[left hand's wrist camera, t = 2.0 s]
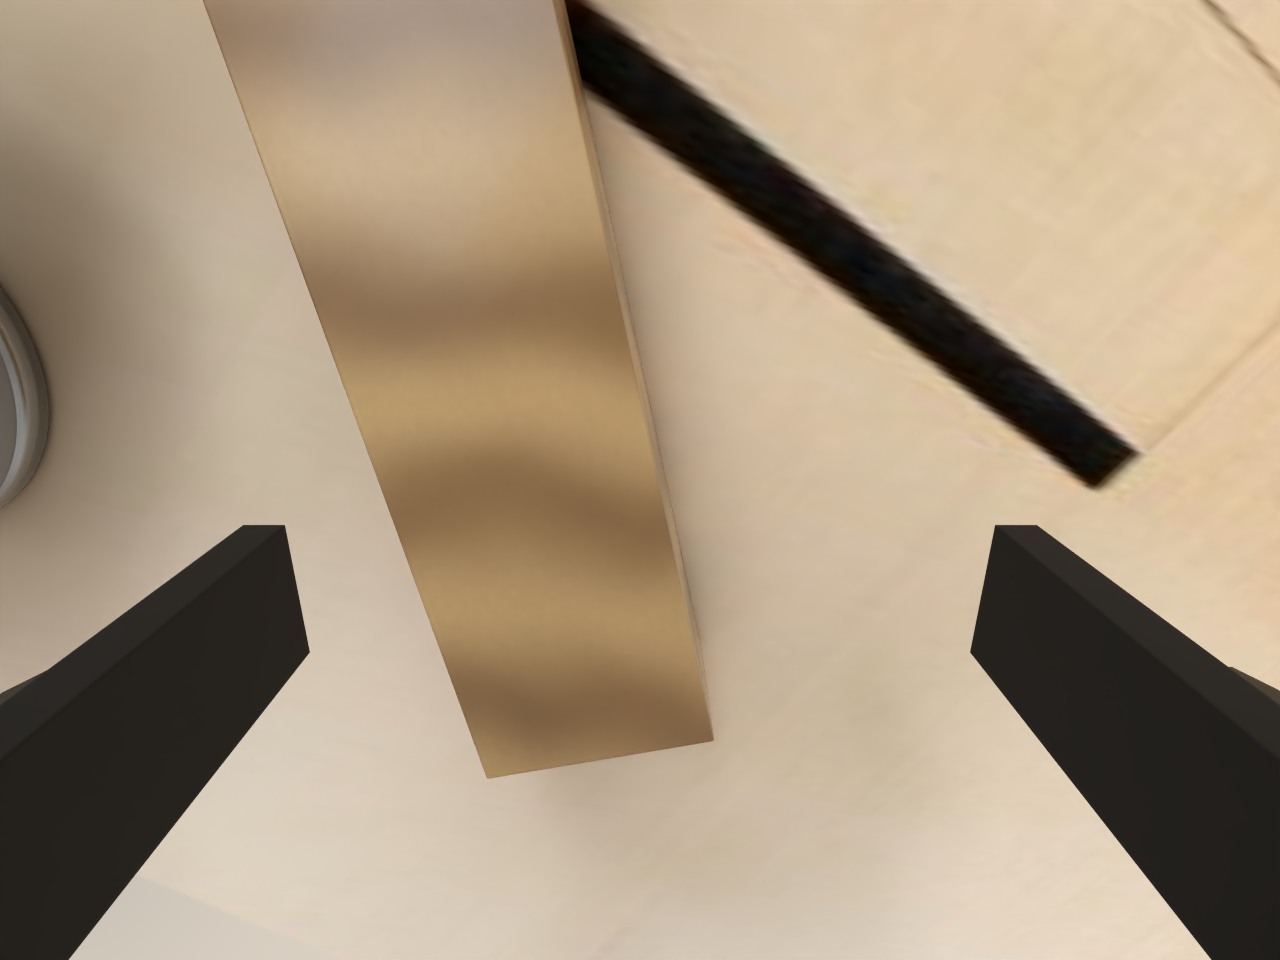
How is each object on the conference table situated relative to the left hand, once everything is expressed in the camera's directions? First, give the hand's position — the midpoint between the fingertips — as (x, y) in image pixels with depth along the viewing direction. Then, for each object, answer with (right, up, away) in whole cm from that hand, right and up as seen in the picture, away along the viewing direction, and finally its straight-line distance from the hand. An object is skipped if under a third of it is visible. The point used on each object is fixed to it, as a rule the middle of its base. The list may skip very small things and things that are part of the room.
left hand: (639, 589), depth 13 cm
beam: (-10, +31, +8) cm, 34 cm away
